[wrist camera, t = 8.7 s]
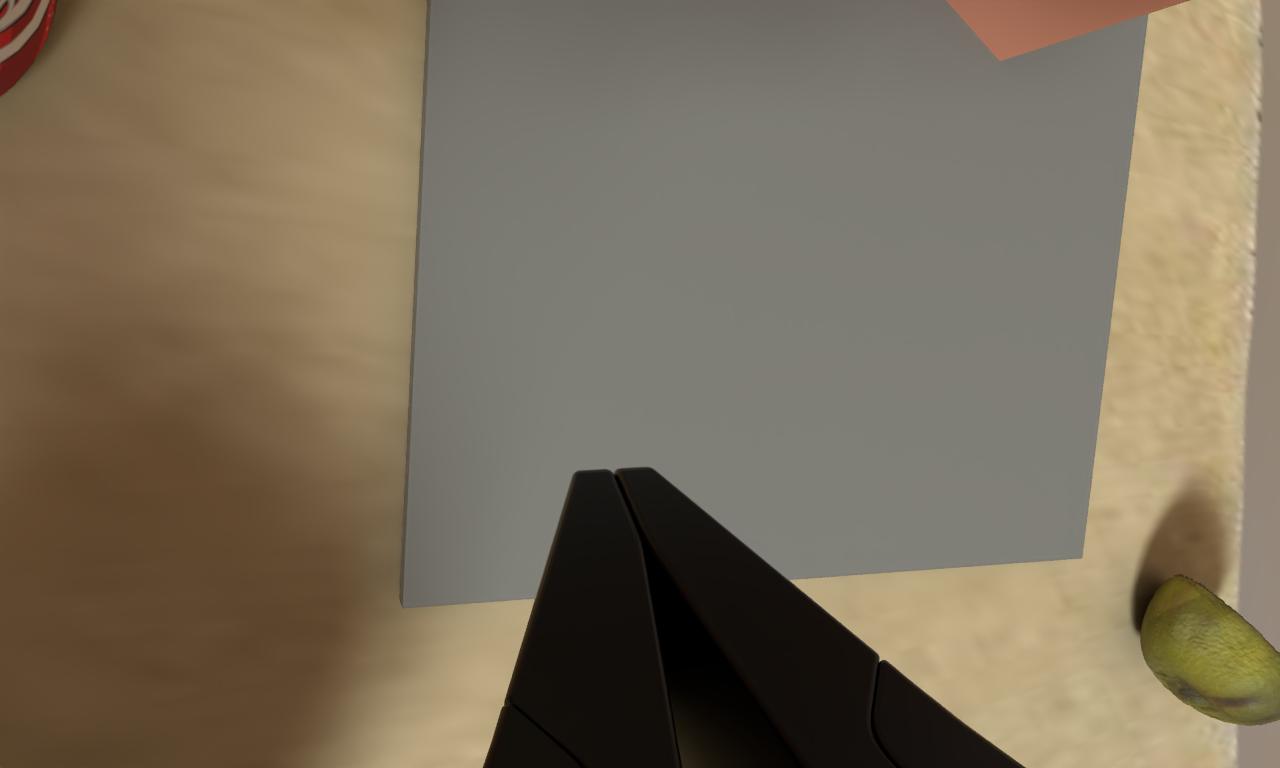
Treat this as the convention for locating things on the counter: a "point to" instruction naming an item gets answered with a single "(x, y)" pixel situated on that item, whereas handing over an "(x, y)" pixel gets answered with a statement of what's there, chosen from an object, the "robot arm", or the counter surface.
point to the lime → (1210, 655)
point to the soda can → (22, 36)
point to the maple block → (1045, 20)
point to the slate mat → (760, 280)
